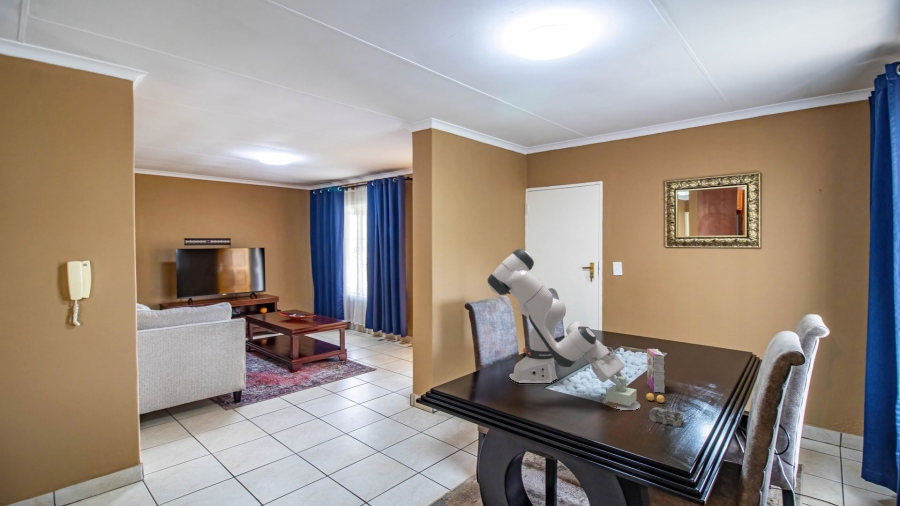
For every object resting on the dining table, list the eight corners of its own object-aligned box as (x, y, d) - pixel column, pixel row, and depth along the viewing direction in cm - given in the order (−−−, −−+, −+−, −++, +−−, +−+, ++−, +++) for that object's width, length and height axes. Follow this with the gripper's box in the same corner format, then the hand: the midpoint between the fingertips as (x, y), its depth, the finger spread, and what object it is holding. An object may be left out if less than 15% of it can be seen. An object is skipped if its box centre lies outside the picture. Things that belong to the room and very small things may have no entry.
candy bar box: (646, 384, 197) (646, 348, 197) (658, 385, 196) (658, 348, 196) (652, 392, 186) (652, 354, 186) (665, 393, 185) (665, 355, 185)
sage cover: (605, 400, 172) (605, 378, 172) (613, 394, 179) (613, 372, 179) (629, 406, 167) (629, 382, 167) (636, 399, 174) (636, 377, 173)
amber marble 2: (659, 404, 173) (659, 396, 173) (654, 401, 176) (654, 394, 176) (666, 403, 173) (666, 396, 173) (661, 401, 176) (661, 393, 176)
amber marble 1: (649, 402, 175) (649, 394, 175) (644, 399, 178) (644, 392, 178) (656, 401, 176) (656, 394, 176) (651, 399, 179) (651, 391, 179)
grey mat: (614, 412, 165) (614, 410, 165) (596, 399, 179) (596, 398, 179) (648, 409, 167) (648, 408, 167) (627, 397, 181) (627, 396, 181)
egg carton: (647, 421, 157) (647, 410, 157) (652, 415, 163) (652, 404, 163) (680, 428, 150) (680, 417, 150) (684, 421, 156) (684, 410, 156)
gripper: (594, 356, 169) (619, 386, 163) (612, 346, 185) (636, 373, 179) (583, 366, 172) (607, 396, 166) (601, 355, 188) (625, 382, 182)
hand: (622, 384), depth 173 cm, fingers closed on sage cover, 3 cm apart
